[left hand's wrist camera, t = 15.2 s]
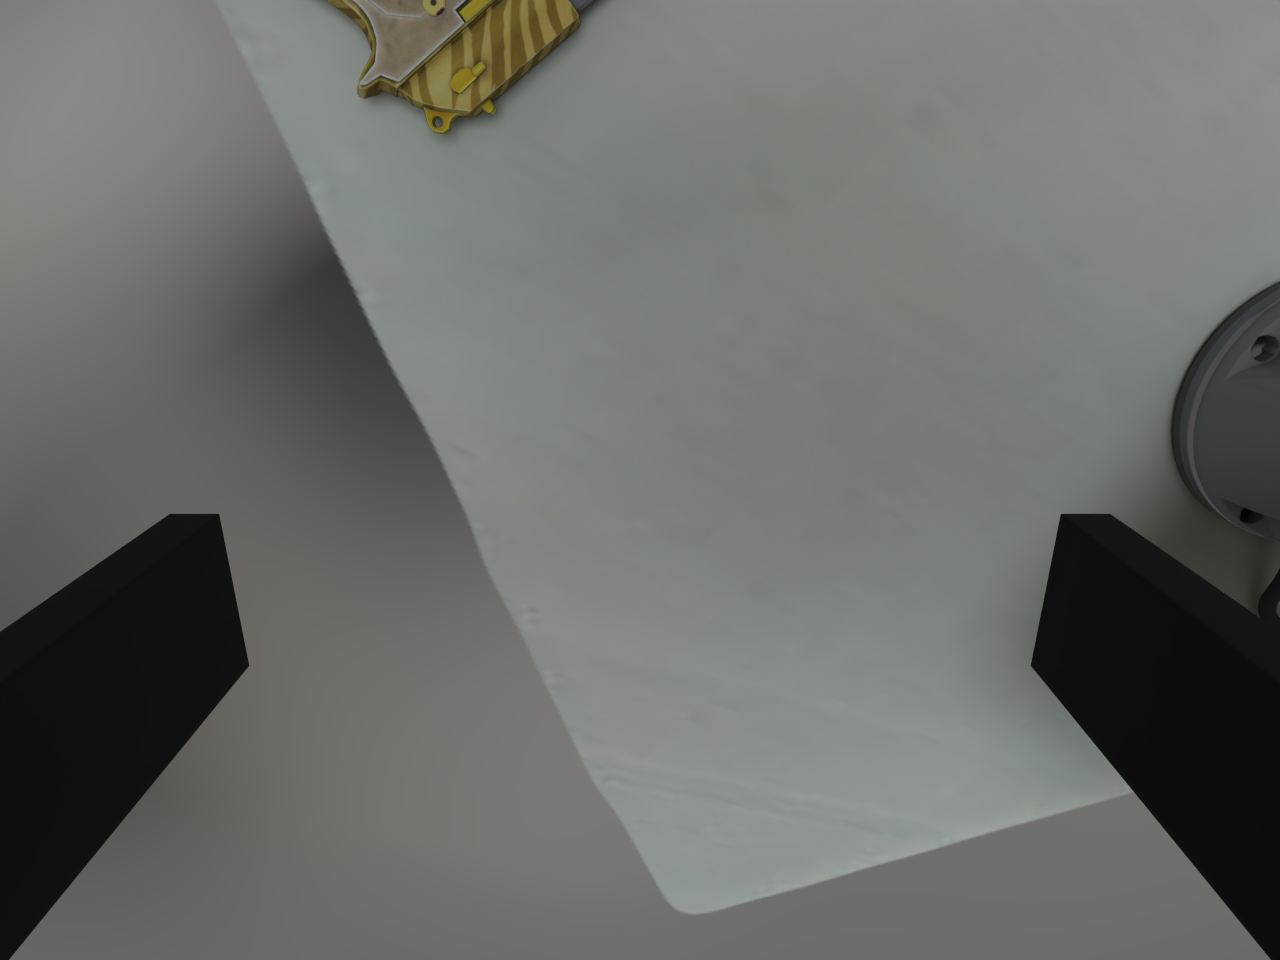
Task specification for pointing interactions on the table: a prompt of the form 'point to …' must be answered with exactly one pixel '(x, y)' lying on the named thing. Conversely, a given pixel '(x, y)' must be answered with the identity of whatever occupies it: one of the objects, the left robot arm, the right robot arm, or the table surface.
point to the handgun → (456, 49)
